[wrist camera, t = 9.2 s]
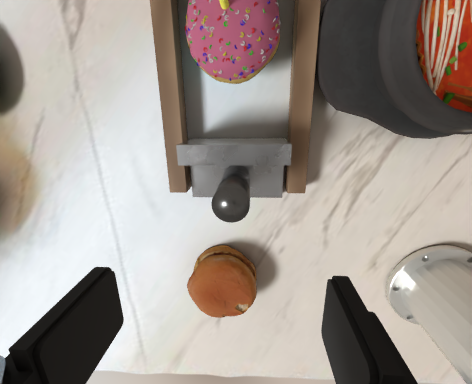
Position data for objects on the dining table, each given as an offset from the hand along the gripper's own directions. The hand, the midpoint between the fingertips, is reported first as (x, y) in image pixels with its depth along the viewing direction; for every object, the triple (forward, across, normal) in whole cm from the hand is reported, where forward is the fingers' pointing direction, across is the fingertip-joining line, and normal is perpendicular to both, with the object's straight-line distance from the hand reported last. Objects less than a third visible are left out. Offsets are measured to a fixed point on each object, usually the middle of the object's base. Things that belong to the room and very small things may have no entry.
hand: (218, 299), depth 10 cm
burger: (+21, +3, +14) cm, 26 cm away
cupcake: (+21, +1, -15) cm, 26 cm away
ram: (+21, +1, -2) cm, 21 cm away
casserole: (+21, -20, -14) cm, 32 cm away
